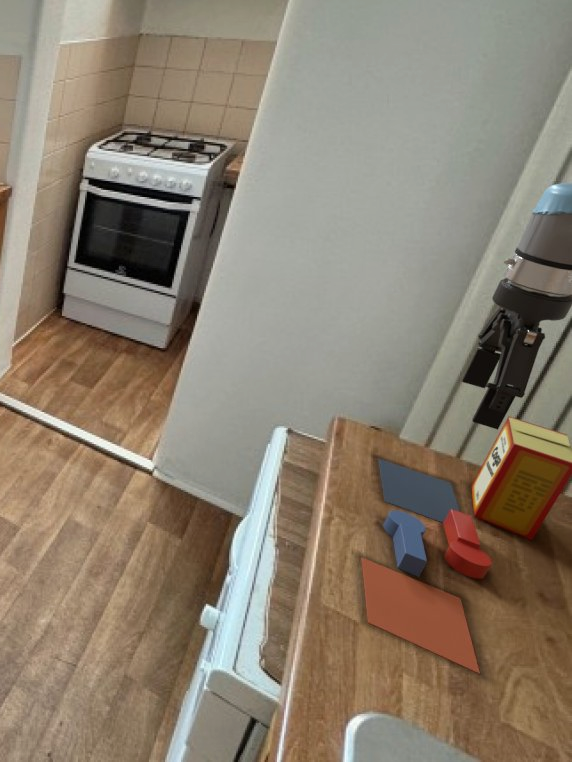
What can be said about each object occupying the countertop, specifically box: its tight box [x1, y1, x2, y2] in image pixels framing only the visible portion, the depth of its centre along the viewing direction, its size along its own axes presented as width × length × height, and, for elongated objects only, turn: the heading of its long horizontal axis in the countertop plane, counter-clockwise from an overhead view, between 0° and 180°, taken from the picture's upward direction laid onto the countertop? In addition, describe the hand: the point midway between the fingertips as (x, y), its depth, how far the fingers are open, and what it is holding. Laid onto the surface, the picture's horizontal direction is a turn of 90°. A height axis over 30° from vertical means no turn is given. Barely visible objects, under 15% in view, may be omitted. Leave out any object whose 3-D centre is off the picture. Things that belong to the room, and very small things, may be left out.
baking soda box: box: [470, 415, 572, 540], centre depth 98 cm, size 10×6×16 cm
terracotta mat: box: [361, 557, 481, 675], centre depth 84 cm, size 11×13×1 cm
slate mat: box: [377, 458, 461, 524], centre depth 105 cm, size 10×13×1 cm
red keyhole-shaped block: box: [442, 509, 493, 580], centre depth 93 cm, size 11×4×4 cm, turn 143°
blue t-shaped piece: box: [382, 509, 428, 578], centre depth 94 cm, size 11×4×4 cm, turn 143°
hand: (478, 403), depth 97 cm, fingers open, 13 cm apart
